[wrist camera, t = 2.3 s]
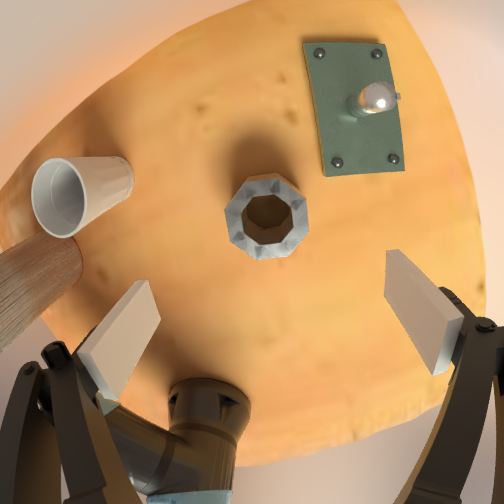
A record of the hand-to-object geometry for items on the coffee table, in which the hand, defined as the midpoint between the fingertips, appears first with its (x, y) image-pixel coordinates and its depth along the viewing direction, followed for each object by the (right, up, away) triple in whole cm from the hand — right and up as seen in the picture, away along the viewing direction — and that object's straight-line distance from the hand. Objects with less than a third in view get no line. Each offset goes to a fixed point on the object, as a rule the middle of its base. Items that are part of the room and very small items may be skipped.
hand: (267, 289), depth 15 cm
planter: (-31, +1, +23) cm, 39 cm away
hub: (+1, +7, +19) cm, 20 cm away
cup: (-19, +11, +19) cm, 29 cm away
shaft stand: (+11, +19, +14) cm, 26 cm away
